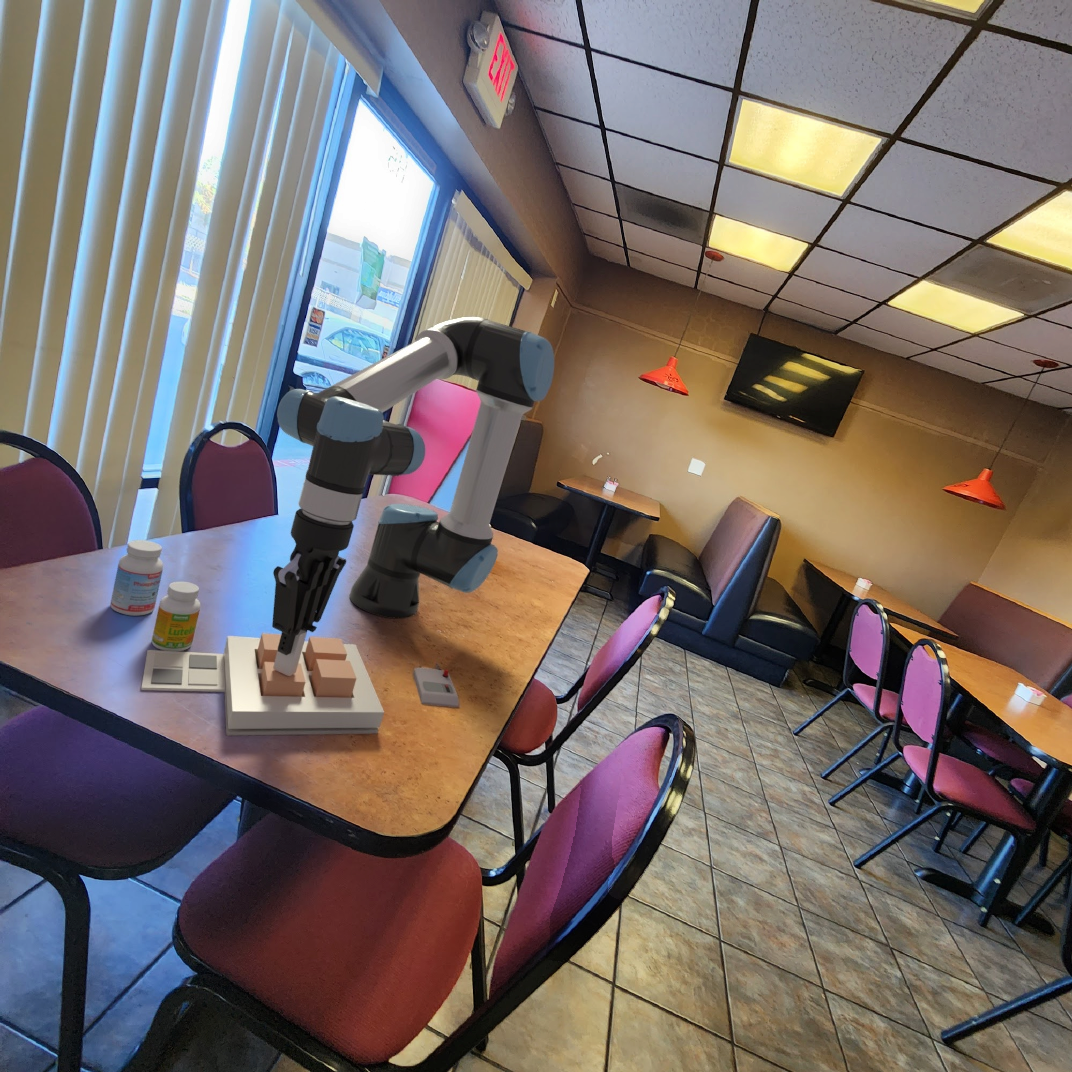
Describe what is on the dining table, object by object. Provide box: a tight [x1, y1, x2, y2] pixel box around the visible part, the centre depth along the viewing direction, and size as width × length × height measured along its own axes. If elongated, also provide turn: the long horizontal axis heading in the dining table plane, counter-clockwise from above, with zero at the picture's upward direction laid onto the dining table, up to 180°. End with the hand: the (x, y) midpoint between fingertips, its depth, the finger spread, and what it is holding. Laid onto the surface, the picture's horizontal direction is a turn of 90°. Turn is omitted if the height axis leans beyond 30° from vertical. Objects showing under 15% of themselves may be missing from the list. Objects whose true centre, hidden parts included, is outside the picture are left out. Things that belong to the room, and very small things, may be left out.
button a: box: [259, 662, 305, 697], centre depth 83 cm, size 5×5×3 cm
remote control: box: [412, 662, 460, 708], centre depth 104 cm, size 7×16×3 cm, turn 21°
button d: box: [304, 636, 347, 671], centre depth 92 cm, size 5×5×3 cm
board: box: [222, 635, 385, 736], centre depth 88 cm, size 20×20×4 cm
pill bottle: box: [110, 539, 164, 617], centre depth 95 cm, size 6×6×11 cm
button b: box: [257, 632, 282, 669], centre depth 89 cm, size 5×5×3 cm
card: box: [140, 649, 225, 693], centre depth 85 cm, size 10×10×1 cm
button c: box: [311, 659, 357, 698], centre depth 87 cm, size 5×5×3 cm
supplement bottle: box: [151, 581, 201, 652], centre depth 89 cm, size 5×5×10 cm
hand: (284, 670), depth 82 cm, fingers closed
